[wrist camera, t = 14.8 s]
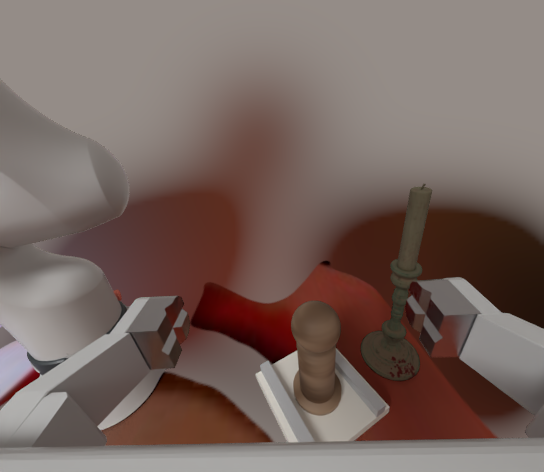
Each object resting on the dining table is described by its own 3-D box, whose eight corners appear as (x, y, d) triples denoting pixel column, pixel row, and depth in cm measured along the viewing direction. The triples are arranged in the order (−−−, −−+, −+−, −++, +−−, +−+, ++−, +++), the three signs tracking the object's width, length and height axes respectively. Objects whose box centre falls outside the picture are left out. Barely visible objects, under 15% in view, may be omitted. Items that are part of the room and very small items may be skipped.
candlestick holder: (372, 383, 37) (402, 200, 23) (353, 335, 45) (366, 177, 31) (432, 378, 37) (498, 190, 23) (402, 330, 45) (437, 170, 31)
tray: (256, 379, 39) (254, 368, 38) (324, 340, 45) (324, 329, 43) (305, 480, 28) (304, 469, 27) (388, 412, 33) (391, 400, 32)
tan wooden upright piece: (285, 381, 37) (275, 302, 30) (321, 359, 40) (320, 281, 32) (311, 426, 32) (308, 343, 24) (351, 397, 34) (359, 314, 27)
